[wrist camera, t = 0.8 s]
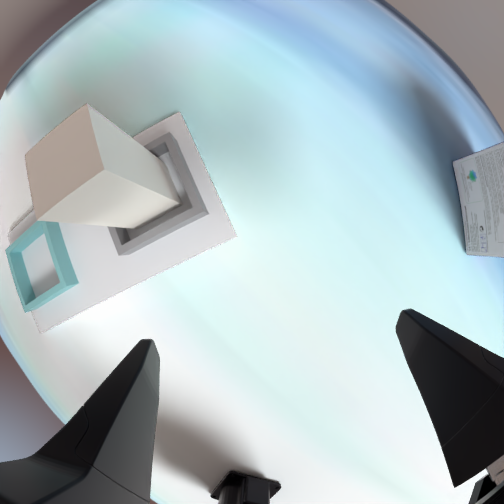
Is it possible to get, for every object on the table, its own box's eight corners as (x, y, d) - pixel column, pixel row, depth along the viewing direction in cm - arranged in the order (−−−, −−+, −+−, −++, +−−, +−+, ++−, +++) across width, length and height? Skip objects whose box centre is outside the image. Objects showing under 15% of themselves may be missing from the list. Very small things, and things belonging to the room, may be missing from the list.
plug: (183, 204, 22) (104, 169, 10) (137, 229, 22) (36, 220, 10) (163, 156, 22) (84, 91, 10) (120, 181, 22) (23, 143, 10)
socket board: (182, 116, 22) (173, 101, 19) (237, 236, 23) (233, 236, 20) (13, 234, 23) (-4, 234, 20) (45, 331, 24) (29, 338, 21)
